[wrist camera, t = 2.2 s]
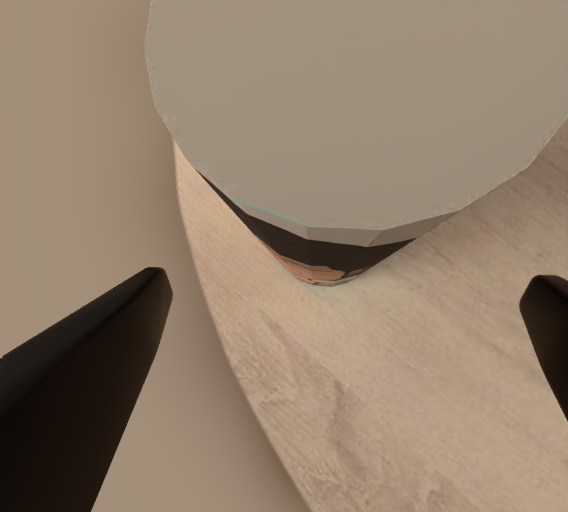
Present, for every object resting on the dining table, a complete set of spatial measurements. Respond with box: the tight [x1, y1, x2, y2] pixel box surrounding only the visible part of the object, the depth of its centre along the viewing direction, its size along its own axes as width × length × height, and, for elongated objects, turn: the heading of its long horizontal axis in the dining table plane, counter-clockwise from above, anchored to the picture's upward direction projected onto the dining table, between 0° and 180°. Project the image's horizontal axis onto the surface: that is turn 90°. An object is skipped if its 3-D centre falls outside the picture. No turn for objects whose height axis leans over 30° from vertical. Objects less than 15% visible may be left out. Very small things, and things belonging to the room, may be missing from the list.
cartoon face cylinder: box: [144, 0, 568, 286], centre depth 12 cm, size 7×7×15 cm
